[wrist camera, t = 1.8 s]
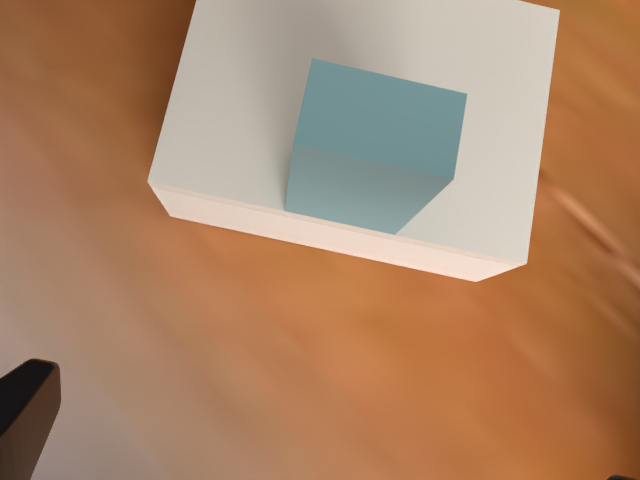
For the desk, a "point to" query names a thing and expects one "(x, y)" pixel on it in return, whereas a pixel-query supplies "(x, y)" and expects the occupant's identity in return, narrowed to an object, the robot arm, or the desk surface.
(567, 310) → the desk surface
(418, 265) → the carton
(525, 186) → the flap
